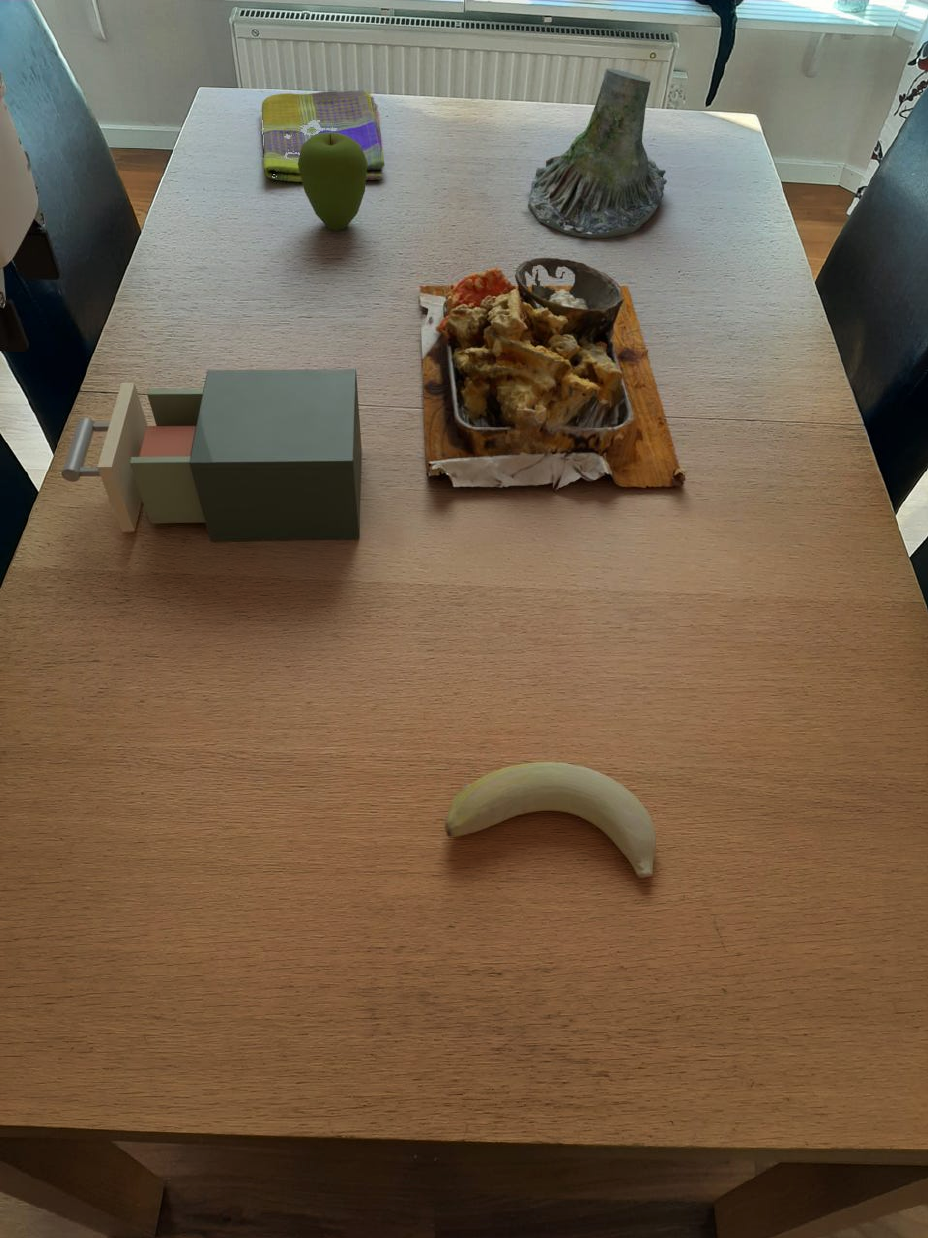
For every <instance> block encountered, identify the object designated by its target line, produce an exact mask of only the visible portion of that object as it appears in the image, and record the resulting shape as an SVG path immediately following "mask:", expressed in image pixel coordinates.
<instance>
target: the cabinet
mask: <svg viewBox="0 0 928 1238" xmlns="http://www.w3.org/2000/svg"><path fill="white" fill-rule="evenodd" d="M203 389H204V390H203V395H202V400H201V406H200V411H199V416H198V421H197V426H196V431H195V436H194V441H193V446H192V451H191V457H190V462H189V464H190V468H191V471H192V475H193V479H194V482H195V486H196V490H197V493H198V497H199V501H200V505H201V508H202V512H203V516H204V519H205V522H204V523H205V526H206V530H207V534H208V538H209V541H210V542H211V543H212V542H267V541H269V542H271V541H274V542H275V541H327V540H329V541H330V540H331V541H333V540H335V541H336V540H360V538H361V536H360V535H361V497H362V496H361V493H362V491H361V490H362V453H363V452H362V449H363V447H362V446H363V445H362V434H361V432H362V431H361V418H360V406H359V405H360V404H359V392H358V379H357V369H354V368H353V369H352V368H351V369H208V370H206V375H205V381H204V385H203Z"/></svg>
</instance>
